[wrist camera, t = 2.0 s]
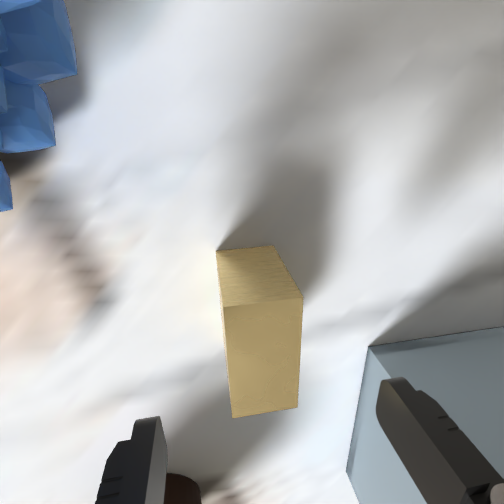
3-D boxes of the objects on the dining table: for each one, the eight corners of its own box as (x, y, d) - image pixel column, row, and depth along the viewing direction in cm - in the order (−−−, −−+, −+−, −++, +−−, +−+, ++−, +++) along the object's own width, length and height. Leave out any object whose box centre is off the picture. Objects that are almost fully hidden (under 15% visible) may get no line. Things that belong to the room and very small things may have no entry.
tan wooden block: (215, 250, 15) (222, 307, 11) (272, 244, 15) (303, 297, 11) (223, 341, 18) (232, 418, 13) (272, 334, 18) (297, 407, 14)
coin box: (368, 346, 20) (486, 507, 12) (523, 323, 21) (721, 450, 13) (345, 470, 26) (413, 634, 18) (468, 445, 27) (582, 584, 19)
